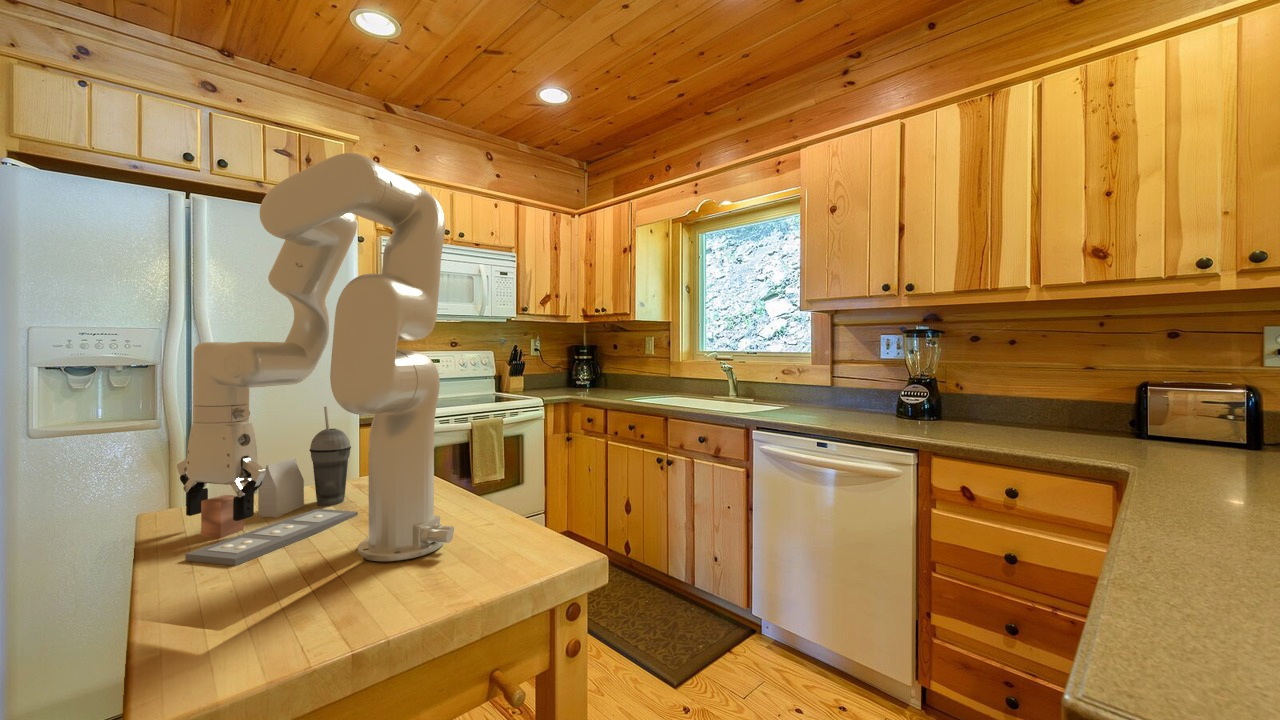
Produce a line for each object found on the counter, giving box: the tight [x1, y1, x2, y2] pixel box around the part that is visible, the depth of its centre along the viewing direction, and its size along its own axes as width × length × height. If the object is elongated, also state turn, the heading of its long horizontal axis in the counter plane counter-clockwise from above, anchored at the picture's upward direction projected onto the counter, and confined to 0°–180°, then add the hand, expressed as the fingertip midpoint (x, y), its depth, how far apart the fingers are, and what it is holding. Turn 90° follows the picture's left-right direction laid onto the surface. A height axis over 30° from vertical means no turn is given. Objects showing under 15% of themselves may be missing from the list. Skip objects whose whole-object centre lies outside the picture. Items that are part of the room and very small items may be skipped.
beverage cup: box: [309, 405, 352, 507], centre depth 107 cm, size 7×7×20 cm
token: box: [200, 494, 244, 539], centre depth 91 cm, size 4×4×6 cm
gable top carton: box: [257, 458, 305, 518], centre depth 102 cm, size 4×7×10 cm, turn 173°
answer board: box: [184, 508, 359, 567], centre depth 89 cm, size 9×24×1 cm, turn 168°
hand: (220, 516), depth 91 cm, fingers open, 9 cm apart
